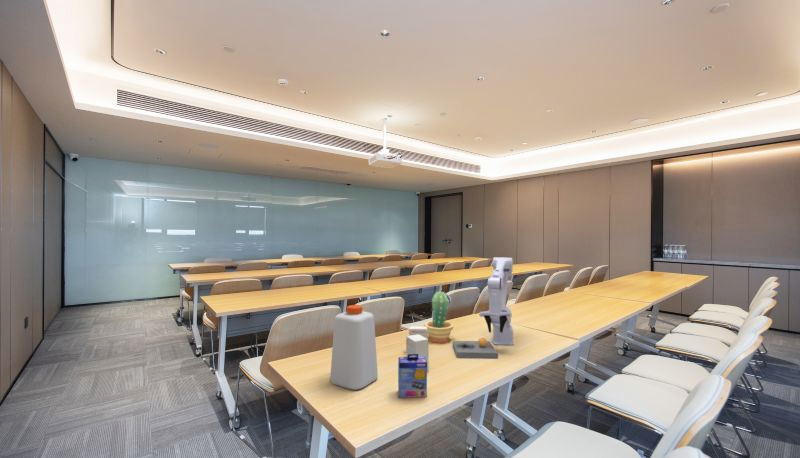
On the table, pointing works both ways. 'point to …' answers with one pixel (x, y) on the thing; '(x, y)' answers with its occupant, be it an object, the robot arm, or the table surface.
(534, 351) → the table surface
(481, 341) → the ball
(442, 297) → the potted cactus
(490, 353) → the hole board
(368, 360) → the plastic bottle
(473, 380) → the table surface
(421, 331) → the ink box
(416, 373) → the ink cartridge box
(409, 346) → the small box
